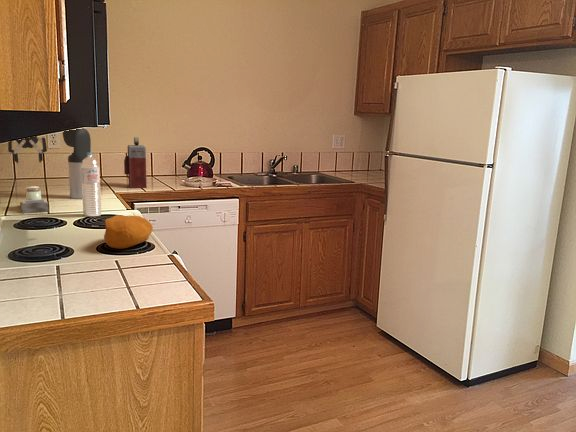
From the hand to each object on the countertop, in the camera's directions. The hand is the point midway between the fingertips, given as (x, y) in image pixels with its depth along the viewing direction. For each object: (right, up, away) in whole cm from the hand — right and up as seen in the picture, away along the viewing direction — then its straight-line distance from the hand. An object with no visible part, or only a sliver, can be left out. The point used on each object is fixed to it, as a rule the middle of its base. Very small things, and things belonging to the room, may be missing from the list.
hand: (28, 162), depth 208 cm
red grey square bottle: (+23, -6, +72) cm, 76 cm away
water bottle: (+30, -22, -9) cm, 39 cm away
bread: (+59, -31, -50) cm, 83 cm away
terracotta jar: (+1, -19, +2) cm, 19 cm away
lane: (+2, -19, +1) cm, 19 cm away
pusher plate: (+5, -20, -5) cm, 22 cm away
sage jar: (+4, -20, -2) cm, 20 cm away
